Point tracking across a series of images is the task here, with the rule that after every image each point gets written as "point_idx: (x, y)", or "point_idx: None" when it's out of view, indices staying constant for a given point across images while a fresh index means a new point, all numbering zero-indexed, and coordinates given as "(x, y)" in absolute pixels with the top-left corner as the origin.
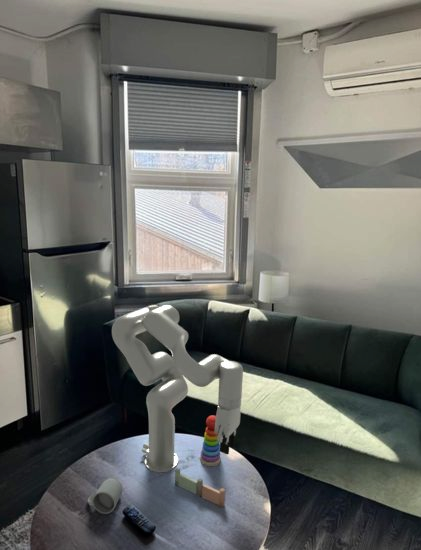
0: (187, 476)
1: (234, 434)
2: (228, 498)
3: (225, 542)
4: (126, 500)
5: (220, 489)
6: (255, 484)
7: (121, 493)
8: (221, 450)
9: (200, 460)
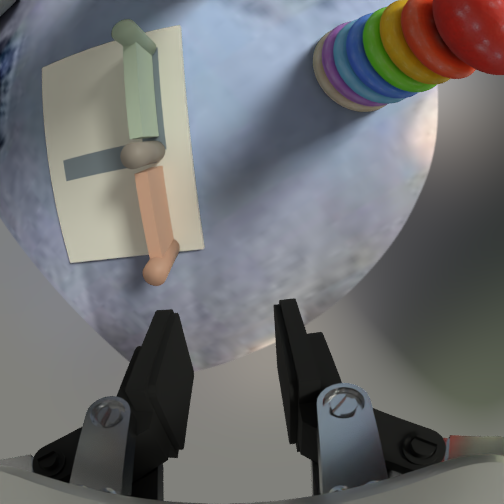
0: (137, 80)
1: (317, 468)
2: (220, 241)
3: (91, 318)
4: (24, 15)
5: (152, 265)
6: (339, 279)
7: (5, 4)
8: (138, 351)
9: (321, 38)
